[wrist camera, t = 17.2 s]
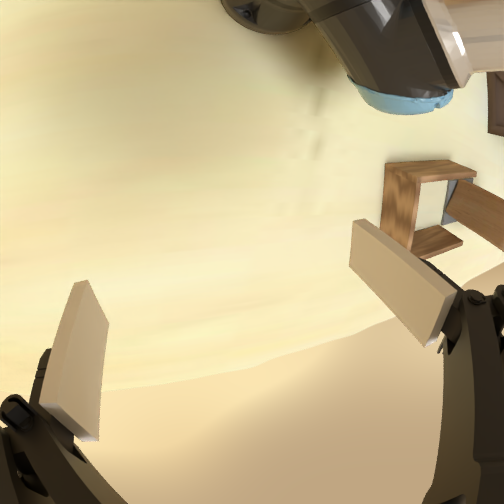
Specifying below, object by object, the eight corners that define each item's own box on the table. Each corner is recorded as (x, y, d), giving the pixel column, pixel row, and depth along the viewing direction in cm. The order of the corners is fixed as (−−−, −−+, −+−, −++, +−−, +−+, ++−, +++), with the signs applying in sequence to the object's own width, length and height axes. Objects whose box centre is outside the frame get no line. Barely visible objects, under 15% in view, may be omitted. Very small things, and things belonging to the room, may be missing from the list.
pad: (448, 180, 56) (449, 181, 55) (471, 177, 58) (473, 178, 58) (441, 224, 62) (442, 225, 62) (464, 217, 64) (466, 218, 64)
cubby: (385, 163, 49) (417, 177, 42) (448, 159, 53) (476, 171, 45) (377, 246, 59) (403, 267, 51) (437, 229, 63) (462, 245, 55)
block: (472, 190, 59) (527, 221, 43) (458, 222, 63) (511, 257, 46) (458, 176, 56) (520, 208, 39) (443, 211, 59) (503, 249, 43)
